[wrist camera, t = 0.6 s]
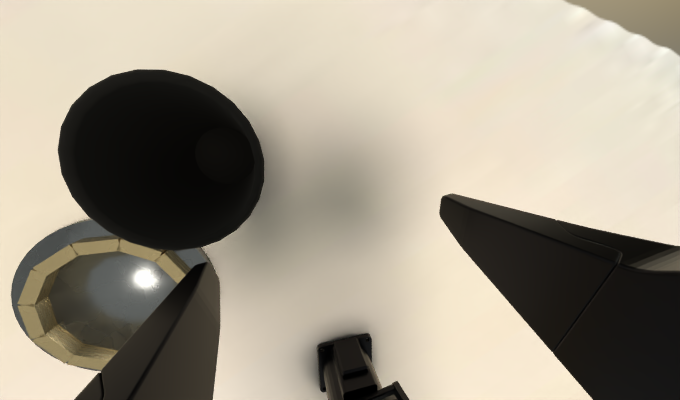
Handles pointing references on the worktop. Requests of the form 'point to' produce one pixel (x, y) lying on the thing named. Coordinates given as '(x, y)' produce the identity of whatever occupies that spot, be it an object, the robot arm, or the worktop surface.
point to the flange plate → (92, 291)
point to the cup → (161, 159)
